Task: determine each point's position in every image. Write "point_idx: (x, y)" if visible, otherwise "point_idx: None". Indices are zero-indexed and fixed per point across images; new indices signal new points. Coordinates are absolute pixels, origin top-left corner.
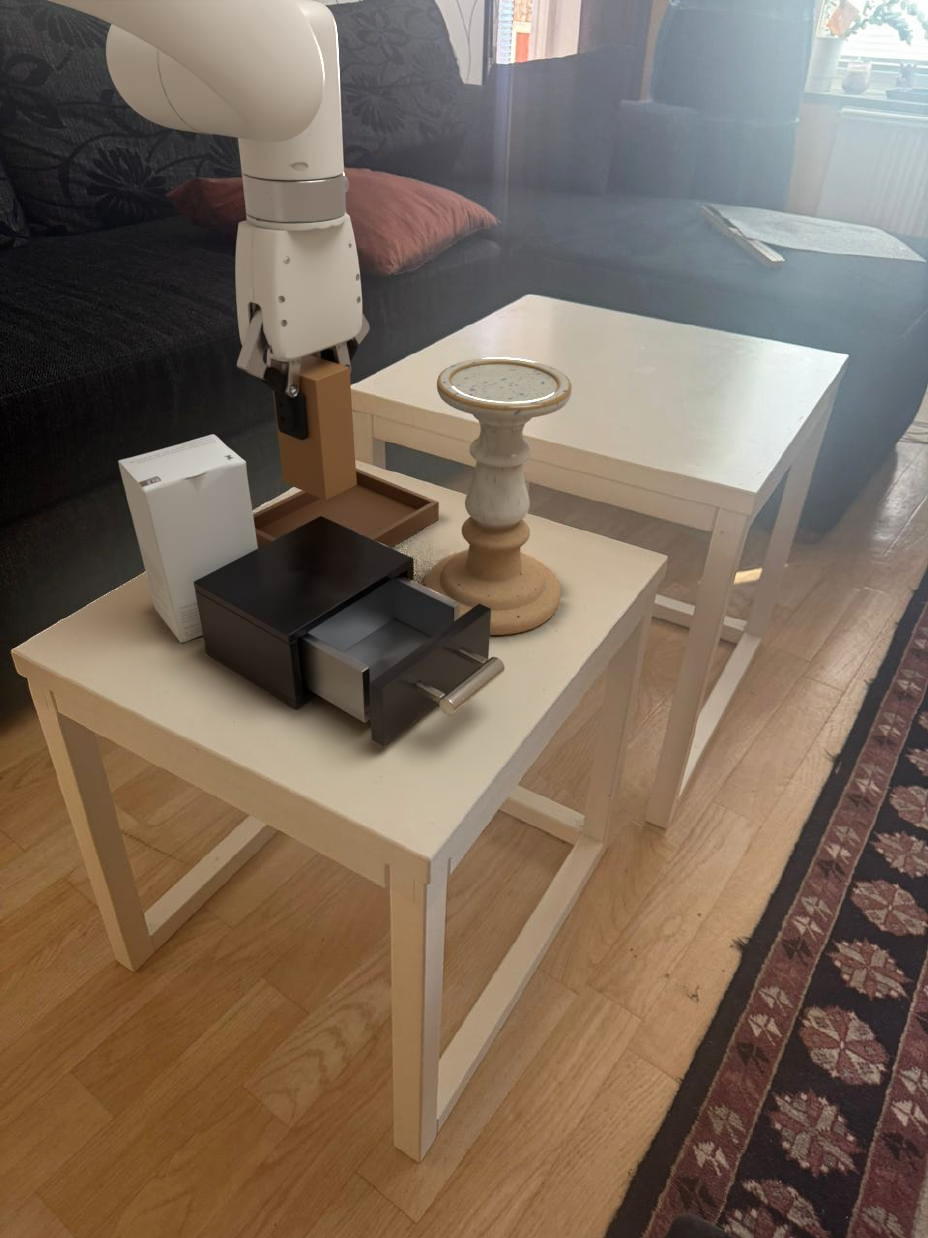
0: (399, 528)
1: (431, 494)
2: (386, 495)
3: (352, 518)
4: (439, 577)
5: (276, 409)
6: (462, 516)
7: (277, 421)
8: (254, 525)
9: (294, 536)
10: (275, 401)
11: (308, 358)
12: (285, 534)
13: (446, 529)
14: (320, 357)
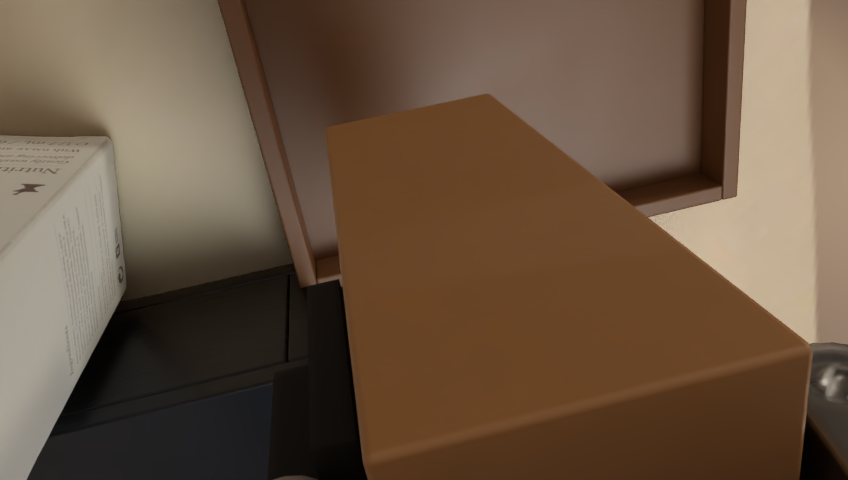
0: None
1: (802, 54)
2: (705, 8)
3: (545, 57)
4: None
5: (272, 432)
6: (754, 197)
7: (275, 378)
8: (35, 460)
9: (182, 430)
10: (269, 469)
11: (730, 478)
12: (163, 411)
13: (681, 223)
14: (824, 467)
